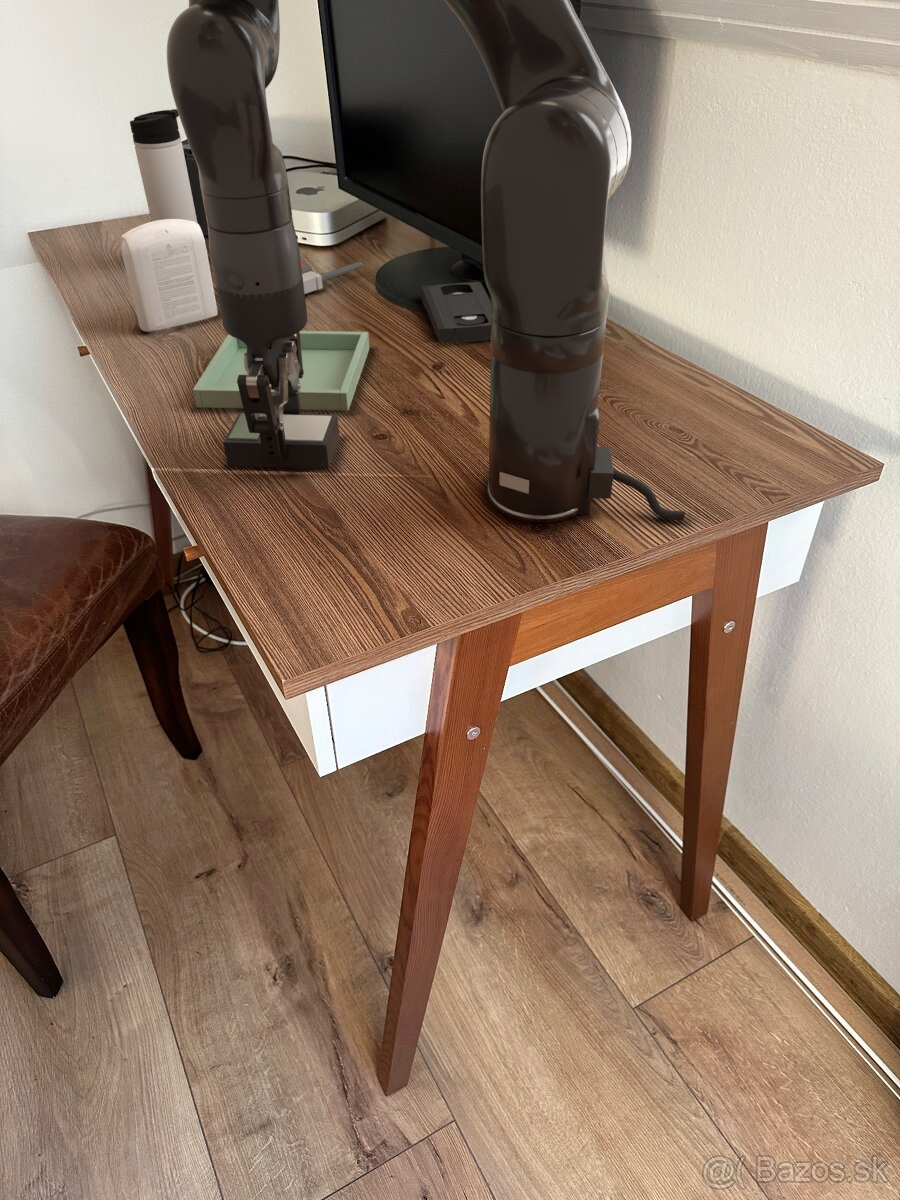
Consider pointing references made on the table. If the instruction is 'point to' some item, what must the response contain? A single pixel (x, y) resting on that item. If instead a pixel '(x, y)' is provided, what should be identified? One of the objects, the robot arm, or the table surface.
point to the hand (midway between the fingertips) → (284, 443)
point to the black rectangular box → (305, 441)
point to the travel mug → (163, 165)
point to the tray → (323, 386)
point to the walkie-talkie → (322, 276)
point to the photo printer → (168, 273)
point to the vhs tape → (458, 311)
